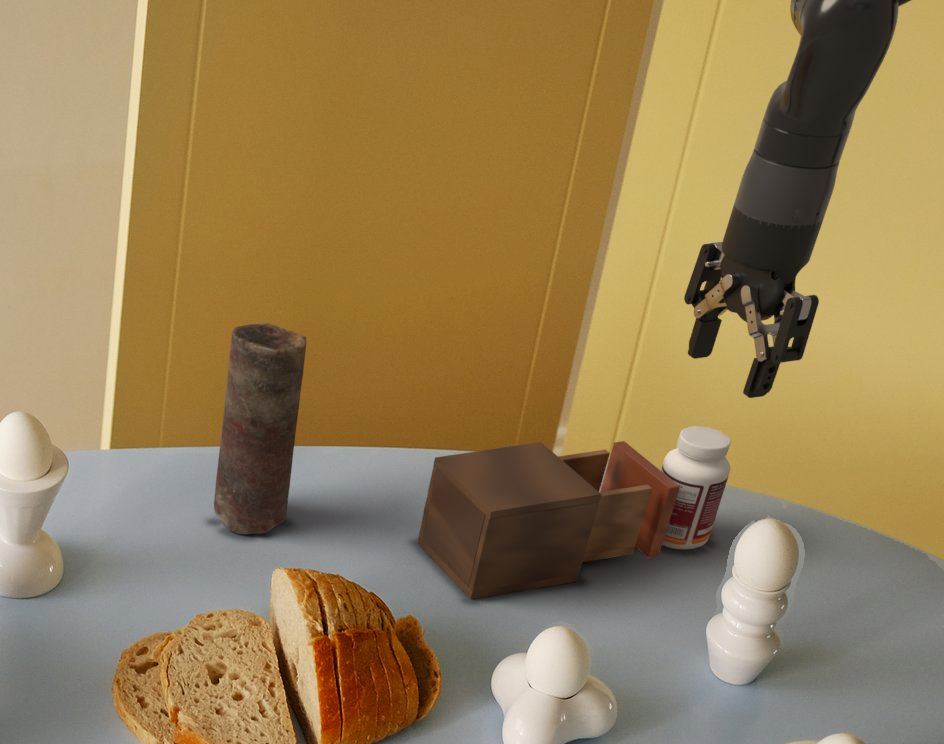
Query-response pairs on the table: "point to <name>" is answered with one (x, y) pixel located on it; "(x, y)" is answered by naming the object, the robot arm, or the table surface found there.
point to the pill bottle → (696, 485)
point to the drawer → (625, 501)
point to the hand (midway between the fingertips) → (725, 375)
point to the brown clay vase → (259, 427)
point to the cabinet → (507, 519)
